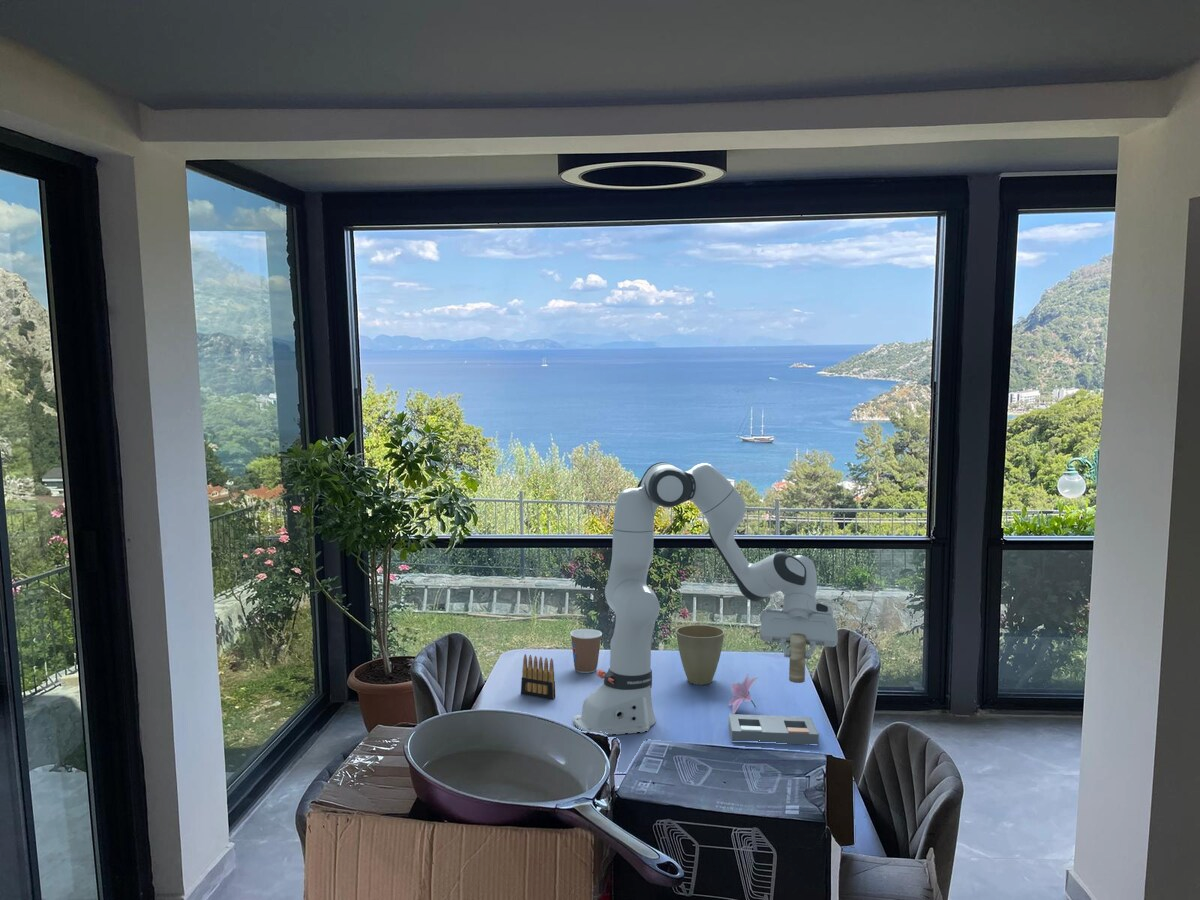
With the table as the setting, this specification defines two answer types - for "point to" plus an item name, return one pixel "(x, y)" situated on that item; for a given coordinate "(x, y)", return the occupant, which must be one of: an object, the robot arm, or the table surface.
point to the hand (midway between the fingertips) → (797, 657)
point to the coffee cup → (586, 649)
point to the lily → (741, 692)
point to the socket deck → (773, 729)
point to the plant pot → (700, 651)
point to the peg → (797, 658)
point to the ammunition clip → (538, 678)
